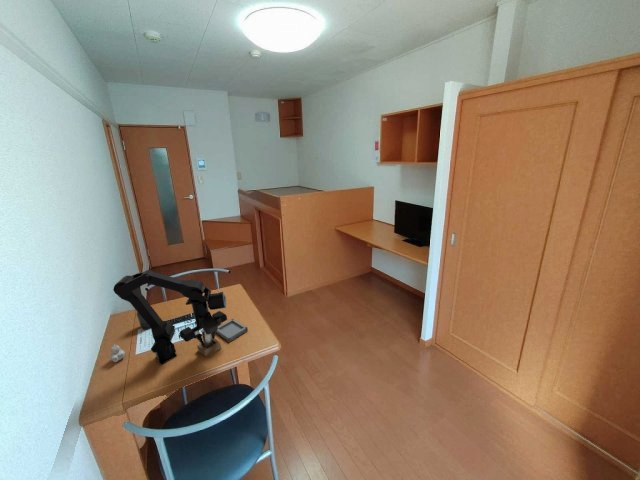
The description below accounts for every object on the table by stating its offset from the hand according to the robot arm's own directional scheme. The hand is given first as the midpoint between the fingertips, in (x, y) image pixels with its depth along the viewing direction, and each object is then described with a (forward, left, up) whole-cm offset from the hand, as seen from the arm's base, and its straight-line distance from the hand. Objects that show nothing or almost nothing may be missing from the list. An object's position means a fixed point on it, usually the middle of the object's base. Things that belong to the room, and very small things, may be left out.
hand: (208, 341), depth 121 cm
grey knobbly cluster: (-27, +27, -4) cm, 39 cm away
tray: (+13, +3, -4) cm, 14 cm away
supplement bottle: (-10, +43, -4) cm, 44 cm away
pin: (0, 0, -4) cm, 4 cm away
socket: (0, 0, -4) cm, 4 cm away
